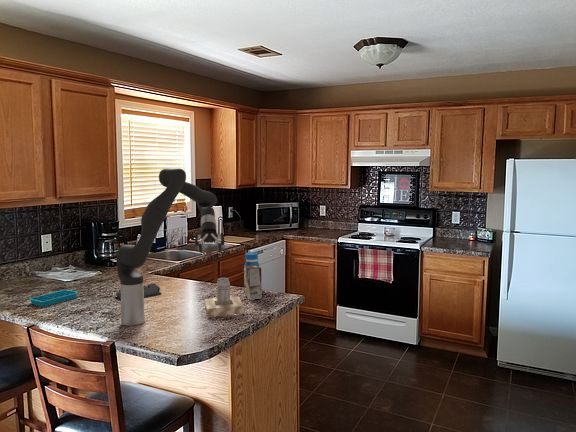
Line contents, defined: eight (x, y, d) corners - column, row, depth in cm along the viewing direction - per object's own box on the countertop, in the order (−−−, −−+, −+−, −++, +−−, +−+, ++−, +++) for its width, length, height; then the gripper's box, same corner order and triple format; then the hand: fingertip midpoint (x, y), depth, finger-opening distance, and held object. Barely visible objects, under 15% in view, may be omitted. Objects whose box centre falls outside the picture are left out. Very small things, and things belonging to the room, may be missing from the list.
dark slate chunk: (112, 296, 233) (111, 287, 233) (152, 289, 247) (152, 281, 247) (123, 303, 222) (123, 293, 221) (165, 295, 236) (164, 286, 236)
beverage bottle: (257, 292, 239) (257, 254, 237) (242, 291, 241) (241, 254, 239) (261, 288, 248) (261, 252, 246) (246, 287, 249) (246, 251, 247)
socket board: (207, 317, 197) (207, 308, 197) (204, 307, 213) (204, 299, 212) (243, 314, 201) (243, 306, 201) (238, 304, 217) (238, 296, 216)
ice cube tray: (79, 297, 231) (79, 292, 231) (42, 308, 213) (42, 302, 213) (65, 295, 236) (65, 289, 236) (27, 304, 219) (27, 298, 218)
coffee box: (262, 299, 225) (261, 268, 224) (249, 300, 223) (249, 269, 221) (256, 294, 234) (256, 264, 232) (245, 296, 232) (244, 265, 230)
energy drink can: (230, 308, 210) (230, 277, 209) (229, 312, 204) (229, 280, 203) (217, 308, 210) (217, 277, 209) (216, 312, 204) (215, 280, 203)
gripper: (194, 221, 222) (195, 247, 212) (223, 220, 226) (225, 246, 216) (194, 230, 228) (195, 256, 218) (222, 229, 231) (224, 255, 221)
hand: (210, 251), depth 217 cm, fingers open, 8 cm apart
